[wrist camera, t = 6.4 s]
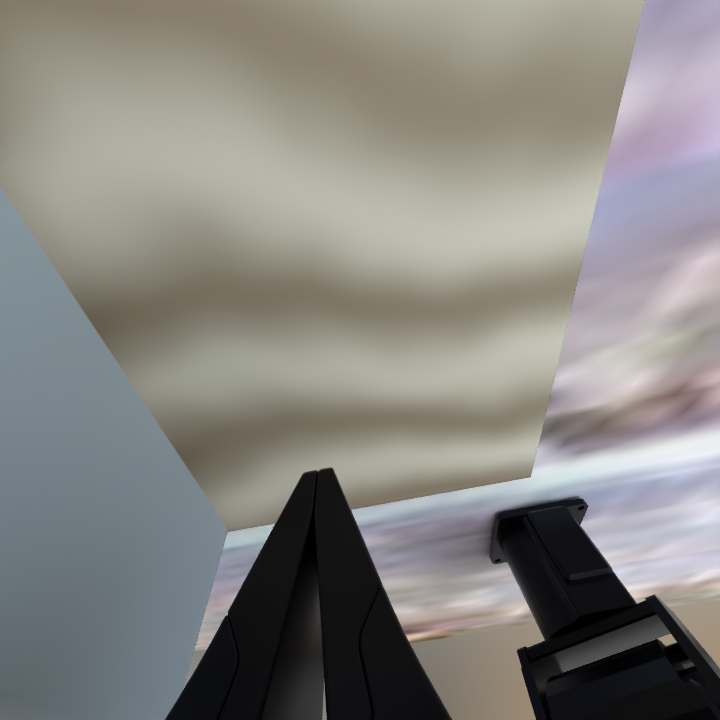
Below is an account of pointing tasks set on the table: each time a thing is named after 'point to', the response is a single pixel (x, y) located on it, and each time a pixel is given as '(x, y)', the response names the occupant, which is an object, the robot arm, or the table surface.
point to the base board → (320, 221)
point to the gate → (88, 515)
